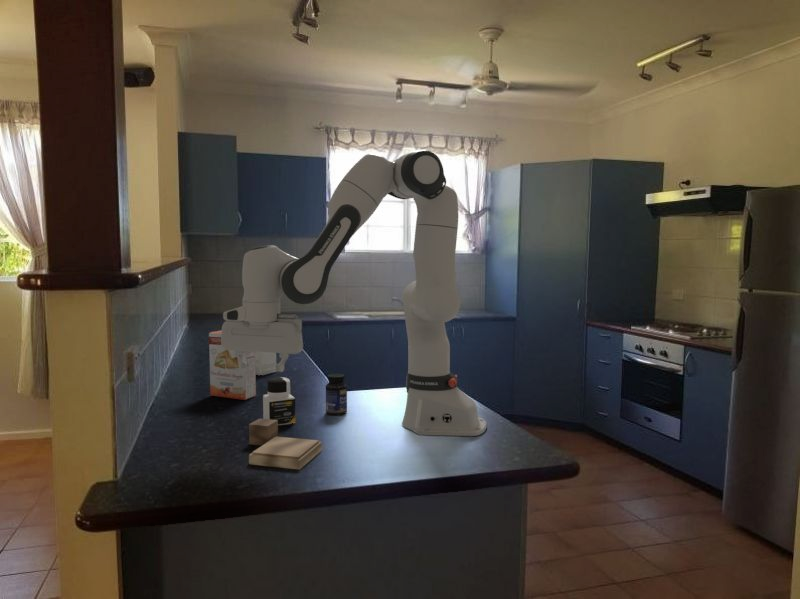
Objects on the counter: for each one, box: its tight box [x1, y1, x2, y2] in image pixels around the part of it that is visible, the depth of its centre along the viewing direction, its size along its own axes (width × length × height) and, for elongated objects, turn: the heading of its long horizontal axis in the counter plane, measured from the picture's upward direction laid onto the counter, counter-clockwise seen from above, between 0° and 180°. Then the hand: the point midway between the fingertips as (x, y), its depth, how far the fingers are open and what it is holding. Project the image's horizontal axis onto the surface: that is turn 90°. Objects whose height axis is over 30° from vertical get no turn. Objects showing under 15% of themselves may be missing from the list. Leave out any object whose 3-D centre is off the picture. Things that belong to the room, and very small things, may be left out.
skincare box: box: [255, 352, 277, 376], centre depth 213 cm, size 8×7×16 cm
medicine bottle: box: [262, 376, 296, 426], centre depth 150 cm, size 7×7×12 cm
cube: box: [248, 418, 279, 447], centre depth 134 cm, size 5×5×5 cm
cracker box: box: [208, 330, 257, 401], centre depth 177 cm, size 14×6×21 cm, turn 68°
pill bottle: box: [325, 373, 348, 416], centre depth 159 cm, size 6×6×11 cm
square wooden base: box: [248, 436, 323, 470], centre depth 124 cm, size 12×12×2 cm
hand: (262, 370), depth 133 cm, fingers open, 8 cm apart
